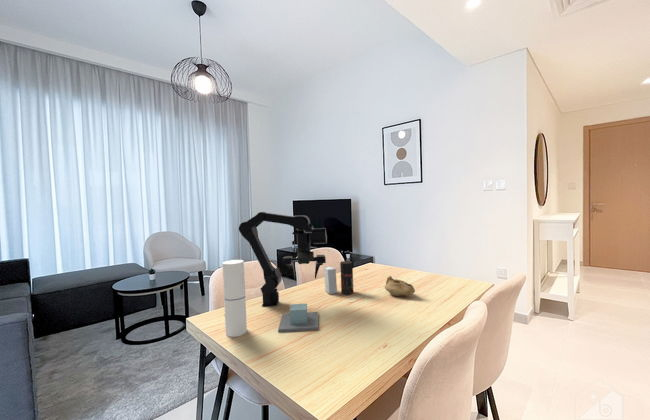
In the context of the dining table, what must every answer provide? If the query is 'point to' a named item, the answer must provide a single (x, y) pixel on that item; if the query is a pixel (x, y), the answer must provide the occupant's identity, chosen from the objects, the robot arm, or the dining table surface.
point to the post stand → (310, 325)
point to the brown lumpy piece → (398, 287)
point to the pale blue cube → (298, 313)
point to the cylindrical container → (234, 298)
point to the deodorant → (346, 277)
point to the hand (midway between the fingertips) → (305, 278)
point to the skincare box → (330, 280)
